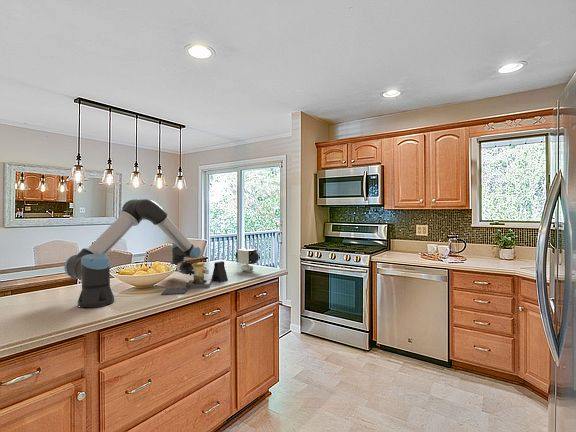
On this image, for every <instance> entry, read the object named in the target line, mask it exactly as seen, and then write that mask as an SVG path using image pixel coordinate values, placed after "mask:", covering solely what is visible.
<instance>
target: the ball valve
mask: <svg viewBox="0 0 576 432" xmlns="http://www.w3.org/2000/svg"><path fill="white" fill-rule="evenodd" d="M234 257H235V259H236V262H237V263H239V264H242V265H241V267H240V270H241V271H243V272H247V273H251V272H253V271H254V266H253V264H257V263H258V261H259V253H258V250H257V249H251V248H248V247H245V248H239V249H236V252H235V256H234Z"/></svg>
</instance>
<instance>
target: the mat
mask: <svg viewBox="0 0 576 432" xmlns="http://www.w3.org/2000/svg"><path fill="white" fill-rule="evenodd" d="M189 289H190V288H189V287H186V286H184V287H183V286H182V287H166V288H165V289H164V290H162V292H161V293H160V295H161V296H171V295H173V294H174V295H185V294H186V293H187V291H188V290H189ZM174 295H173V296H174Z"/></svg>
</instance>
